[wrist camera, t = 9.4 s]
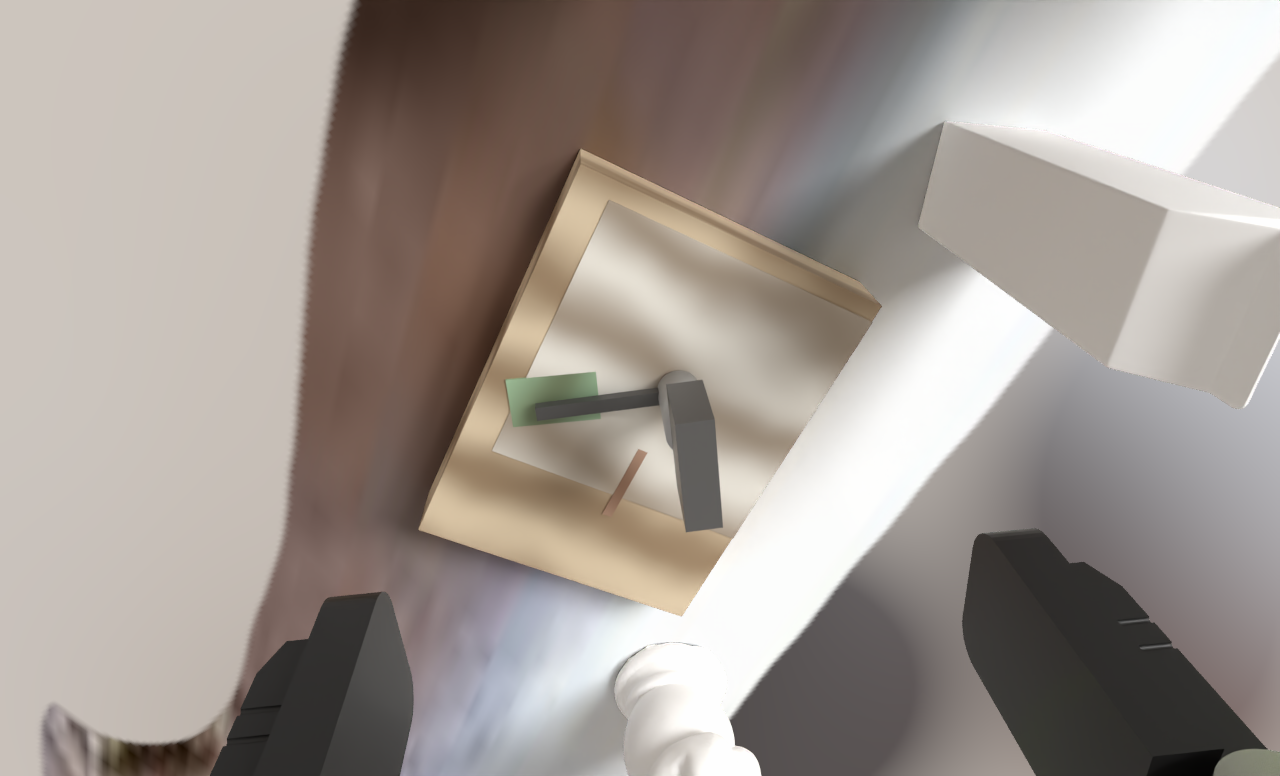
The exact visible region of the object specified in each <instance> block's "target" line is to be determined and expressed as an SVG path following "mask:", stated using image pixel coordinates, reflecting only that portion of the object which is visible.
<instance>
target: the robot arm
mask: <svg viewBox="0 0 1280 776" xmlns="http://www.w3.org/2000/svg"><path fill="white" fill-rule="evenodd" d="M962 622H963V623H962V624H963V625H962V626H963V635H964V641H965V645H966V649H967V652H968V655H969V658H970V660H971V663H972V664H973V666H974V668H975V670H976V672H977V673H978V675H979V677H980V679H981V680H982V682H983V684H984V686H985V687H986V689H987V691H988V693H989V694H990V696H991V698H992V700H993V701H994V703H995V705H996V707H997V708H998V710H999V712H1000V714H1001V715H1002V717H1003V719H1004V721H1005V722H1006V724H1007V726H1008V728H1009V729H1010V731H1011V733H1012V735H1013V736H1014V738H1015V740H1016V742H1017V743H1018V745H1019V747H1020V748H1021V750H1022V752H1023V754H1024V755H1025V757H1026V759H1027V761H1028V762H1029V764H1030V766H1031V768H1032V769H1033V771H1034V773H1035V774H1036V776H1280V752H1277V751H1271V750H1268V749H1267V748H1266V747H1265V746H1264V745H1263V744H1262V743H1261V742H1260V741H1259V739H1258V738H1257V737H1256V736H1255V735H1254V734H1253V733H1252V732H1251V730H1250V729H1249V728H1248V727H1247V726H1246V725H1245V724H1244V723H1243V721H1242V720H1241V719H1240V718H1239V717H1238V716H1237V715H1236V714H1235V713H1234V712H1233V710H1232V709H1231V708H1230V707H1229V706H1228V705H1227V704H1226V702H1225V701H1224V700H1223V699H1222V698H1221V697H1220V696H1219V695H1218V693H1217V692H1216V691H1215V690H1214V689H1213V688H1212V687H1211V686H1210V684H1209V683H1208V682H1207V681H1206V680H1205V679H1204V678H1203V677H1202V676H1201V674H1200V673H1199V672H1198V671H1197V670H1196V669H1195V668H1194V667H1193V665H1192V664H1191V663H1190V662H1189V661H1188V660H1187V659H1186V658H1185V657H1184V655H1183V654H1182V653H1181V652H1180V651H1179V650H1178V649H1174V648H1173V647H1172V644H1171V641H1170V640H1169V638H1168V637H1167V636H1166V635H1165V634H1164V633H1163V632H1162V631H1161V630H1160V629H1159V627H1158V626H1157V625H1156V624H1155V623H1151V622H1150V621H1149V616H1148V615H1147V614H1146V613H1145V611H1144V610H1143V609H1142V608H1141V607H1140V606H1139V605H1138V604H1137V603H1136V602H1135V600H1134V599H1133V598H1132V597H1131V596H1130V595H1129V594H1128V592H1127V591H1126V590H1125V589H1124V588H1123V587H1122V586H1121V585H1119V584H1118V583H1116V582H1114V581H1113V580H1111V579H1110V578H1108V577H1107V576H1105V575H1103V574H1102V573H1100V572H1099V571H1097V570H1096V569H1094V568H1092V567H1091V566H1089V565H1088V564H1086V563H1085V562H1079V563H1069V562H1068V561H1067V560H1066V559H1065V557H1064V556H1063V555H1062V554H1061V553H1060V552H1059V550H1058V549H1057V548H1056V547H1055V545H1054V544H1053V543H1052V542H1051V541H1050V539H1049V538H1048V537H1047V536H1046V535H1045V534H1044V533H1043V532H1042V531H1040V530H1039V529H1036V528H1031V529H1021V530H1011V531H1001V532H991V533H982V534H979V535H978V536H977V537H976V539H975V541H974V545H973V550H972V557H971V564H970V571H969V577H968V584H967V591H966V598H965V604H964V612H963V620H962ZM412 715H413V682H412V675H411V671H410V667H409V664H408V660H407V656H406V653H405V649H404V645H403V642H402V638H401V634H400V631H399V627H398V623H397V620H396V616H395V613H394V609H393V605H392V602H391V599H390V597H389V596H388V594H387V593H386V592H377V593H367V594H357V595H347V596H337V597H329V598H327V599H326V600H325V601H324V603H323V605H322V607H321V609H320V612H319V614H318V617H317V619H316V621H315V624H314V626H313V629H312V631H311V634H310V636H309V639H305V640H295V641H287V642H286V643H285V644H284V645H283V646H282V647H281V648H280V649H279V650H278V651H277V652H276V653H275V655H274V656H273V657H272V658H271V659H270V660H269V661H268V662H267V663H266V664H265V665H264V666H263V667H262V668H261V669H260V671H259V672H258V673H257V674H256V676H255V678H254V681H253V683H252V685H251V687H250V689H249V692H248V694H247V696H246V698H245V700H244V702H243V705H242V707H241V715H240V716H237V718H236V720H235V722H234V724H233V726H232V729H231V731H230V733H229V735H228V737H227V746H223V748H222V750H221V752H220V755H219V757H218V759H217V761H216V763H215V766H214V768H213V770H212V772H211V774H210V776H400V772H401V767H402V763H403V758H404V754H405V749H406V745H407V740H408V736H409V731H410V727H411V722H412Z"/></svg>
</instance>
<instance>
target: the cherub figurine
mask: <svg viewBox="0 0 1280 776" xmlns="http://www.w3.org/2000/svg"><path fill="white" fill-rule="evenodd" d="M726 690H727V677H726V673H725V671H724V669H723V667H722V665H721V664H720V663H719V661H718V660H717V659H716V658H715V657H714V656H713V654H712V652H711V651H710V650H707V649H705V648H704V647H698V646H690V645H687V644H683V643H672V642H671V643H664V644H662V645H661V644H659V645H656V644H653V645H650V646H647V647H645V648H644V649H642V650H641V651H639V652H638V653H637V654H635V655H633V657H630V658H629V659H628V660H627V661H626V663H625V664H624V667H623V668H622V669H621V671H620V672H619V673H618V676H617V679H616V682H615V687H614V694H615V700H616V703H617V705H618V708H619V709H620V711H621V712H622V714H623V715H624V716H625V717H626V718H627V720H628V722H627V726H626V730H625V735H624V743H623V751H624V760H625V765H626V769H627V772H628V775H629V776H761V771H760V767H759V764H758V761H757V759H756V757H755V756H754V755H753V754H752V753H751V752H750V751H749V750H747V749H745V748H743V747H739V746H735V741H734V734H733V730H732V727H731V724H730V721H729V719H728V717H727V715H726V713H725V712H724V710H723V709H722V707H721V703H722V701H723V699H724V696H725V694H726Z"/></svg>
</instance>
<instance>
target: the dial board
mask: <svg viewBox="0 0 1280 776" xmlns="http://www.w3.org/2000/svg"><path fill="white" fill-rule="evenodd" d="M881 307H882V306H881V305H880V304H879V302H878V301H877V300H876V299H875V298H874V297H873V296H872V295H871V294H870V293H869V292H868V291H867V289H866V288H865V287H864V286H863V285H862V284H861V283H860V282H859V281H857V280H855V279H853V278H851V277H849V276H847V275H844V274H842V273H840V272H838V271H836V270H834V269H832V268H830V267H828V266H826V265H823V264H821V263H819V262H817V261H815V260H813V259H811V258H809V257H807V256H805V255H803V254H800V253H798V252H796V251H794V250H792V249H790V248H788V247H786V246H784V245H782V244H779V243H777V242H775V241H773V240H771V239H769V238H767V237H765V236H763V235H761V234H759V233H756V232H754V231H752V230H750V229H748V228H746V227H744V226H742V225H740V224H738V223H735V222H733V221H731V220H729V219H727V218H725V217H723V216H721V215H719V214H717V213H715V212H712V211H710V210H708V209H706V208H704V207H702V206H700V205H698V204H696V203H694V202H691V201H689V200H687V199H685V198H683V197H681V196H679V195H677V194H675V193H673V192H671V191H668V190H666V189H664V188H662V187H660V186H658V185H656V184H654V183H652V182H650V181H647V180H645V179H643V178H641V177H639V176H637V175H635V174H633V173H631V172H629V171H627V170H624V169H622V168H620V167H618V166H616V165H614V164H612V163H610V162H608V161H606V160H604V159H601V158H599V157H597V156H595V155H593V154H591V153H589V152H587V151H585V150H583V149H580V151H579V153H578V155H577V158H576V160H575V162H574V164H573V167H572V169H571V171H570V173H569V176H568V178H567V180H566V183H565V185H564V187H563V189H562V192H561V194H560V196H559V198H558V201H557V203H556V205H555V208H554V210H553V212H552V214H551V217H550V219H549V221H548V223H547V226H546V228H545V230H544V232H543V235H542V237H541V239H540V242H539V244H538V246H537V248H536V251H535V253H534V255H533V257H532V260H531V262H530V264H529V267H528V269H527V271H526V273H525V276H524V278H523V280H522V282H521V285H520V287H519V289H518V291H517V294H516V296H515V298H514V301H513V303H512V305H511V307H510V310H509V312H508V314H507V316H506V319H505V321H504V323H503V325H502V328H501V330H500V332H499V335H498V337H497V339H496V341H495V344H494V346H493V348H492V350H491V353H490V355H489V357H488V360H487V362H486V364H485V366H484V369H483V371H482V373H481V375H480V378H479V380H478V382H477V384H476V387H475V389H474V391H473V394H472V396H471V398H470V400H469V403H468V405H467V407H466V409H465V412H464V414H463V416H462V418H461V421H460V423H459V425H458V428H457V430H456V432H455V434H454V437H453V439H452V441H451V443H450V446H449V448H448V450H447V453H446V455H445V457H444V459H443V462H442V464H441V466H440V468H439V471H438V473H437V475H436V477H435V480H434V482H433V484H432V487H431V489H430V491H429V494H428V497H427V501H426V504H425V508H424V511H423V515H422V518H421V522H420V525H419V529H418V530H420V531H423V532H426V533H429V534H433V535H436V536H439V537H442V538H445V539H448V540H451V541H454V542H457V543H460V544H463V545H466V546H469V547H472V548H475V549H478V550H481V551H484V552H487V553H490V554H493V555H496V556H499V557H502V558H505V559H508V560H512V561H515V562H518V563H521V564H524V565H527V566H530V567H533V568H536V569H539V570H542V571H545V572H548V573H551V574H554V575H557V576H560V577H563V578H566V579H569V580H572V581H575V582H578V583H581V584H584V585H587V586H590V587H594V588H597V589H600V590H603V591H606V592H609V593H612V594H615V595H618V596H621V597H624V598H627V599H630V600H633V601H636V602H639V603H642V604H645V605H648V606H651V607H654V608H657V609H660V610H663V611H666V612H669V613H673V614H676V615H679V616H682V615H683V614H684V612H685V611H686V609H687V608H688V606H689V605H690V603H691V601H692V600H693V598H694V597H695V595H696V594H697V592H698V591H699V589H700V587H701V586H702V584H703V583H704V581H705V580H706V578H707V577H708V575H709V574H710V572H711V570H712V569H713V567H714V566H715V564H716V563H717V561H718V560H719V558H720V556H721V555H722V553H723V552H724V550H725V549H726V547H727V546H728V544H729V543H730V541H731V539H732V538H734V536H735V535H736V533H737V532H738V530H739V528H740V527H741V525H742V524H743V522H744V521H745V519H746V518H747V516H748V514H749V513H750V511H751V510H752V508H753V507H754V505H755V504H756V502H757V501H758V499H759V497H760V496H761V494H762V493H763V491H764V490H765V488H766V487H767V485H768V483H769V482H770V480H771V479H772V477H773V476H774V474H775V473H776V471H777V470H778V468H779V466H780V465H781V463H782V462H783V460H784V459H785V457H786V456H787V454H788V452H789V451H790V449H791V448H792V446H793V445H794V443H795V442H796V440H797V439H798V437H799V435H800V434H801V432H802V431H803V429H804V428H805V426H806V425H807V423H808V421H809V420H810V418H811V417H812V415H813V414H814V412H815V411H816V409H817V408H818V406H819V404H820V403H821V401H822V400H823V398H824V397H825V395H826V394H827V392H828V390H829V389H830V387H831V386H832V384H833V383H834V381H835V380H836V378H837V377H838V375H839V373H840V372H841V370H842V369H843V367H844V366H845V364H846V363H847V361H848V360H849V358H850V356H851V355H852V353H853V352H854V350H855V349H856V347H857V346H858V344H859V342H860V341H861V339H862V338H863V336H864V335H865V333H866V332H867V330H868V329H869V327H870V325H871V324H872V321H873V319H874V318H875V316H876V315H877V313H878V311H879V310H880V308H881ZM678 370H682V371H686V372H689V373H691V374H692V375H694V376H695V377H696V379H697V380H703V383H704V386H705V389H706V392H707V396H708V399H709V402H710V405H711V409H712V412H713V415H714V418H715V428H716V441H717V454H718V467H719V481H720V494H721V507H722V520H723V528H716V529H709V530H701V531H693V532H686V530H685V525H684V520H683V515H682V510H681V505H680V500H679V494H678V489H677V483H676V473H675V464H674V454H673V450H672V449H671V448H670V447H669V445H668V443H667V441H666V436H665V431H664V426H663V420H662V415H661V410H660V405H658V406H650V407H642V408H635V409H627V410H619V411H611V412H604V413H596V414H588V415H580V416H572V417H565V418H557V419H549V420H541V421H537V417H536V412H535V403H542V402H550V401H557V400H565V399H573V398H581V397H588V396H596V395H604V394H612V393H619V392H627V391H635V390H643V389H651V388H657V387H658V384H659V382H660V380H661V379H662V378H663V377H664V376H665V375H666V374H668V373H670V372H672V371H678Z"/></svg>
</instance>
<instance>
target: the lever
mask: <svg viewBox="0 0 1280 776" xmlns="http://www.w3.org/2000/svg"><path fill="white" fill-rule="evenodd" d="M658 405H660V410H661V415H662V420H663V426H664V431H665V436H666V441H667V443H668V445H669V447H670V448H671V449H672V450H673V454H674V464H675V473H676V483H677V489H678V494H679V500H680V505H681V510H682V515H683V520H684V525H685V530H686V532H693V531H701V530H709V529H716V528H723V520H722V507H721V494H720V481H719V467H718V454H717V441H716V428H715V418H714V415H713V412H712V409H711V405H710V402H709V399H708V396H707V392H706V389H705V386H704V383H703V380H697V379H696V377H695V376H694V375H692V374H691V373H689V372H686V371H682V370H678V371H672V372H670V373H668V374H666V375H665V376H664V377H663V378H662V379H661V380H660V382H659V384H658V387H657V388H651V389H643V390H635V391H627V392H619V393H612V394H604V395H596V396H588V397H581V398H573V399H565V400H557V401H550V402H542V403H535V412H536V417H537V421H541V420H549V419H557V418H565V417H572V416H580V415H588V414H596V413H604V412H611V411H619V410H627V409H635V408H642V407H650V406H658Z"/></svg>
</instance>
